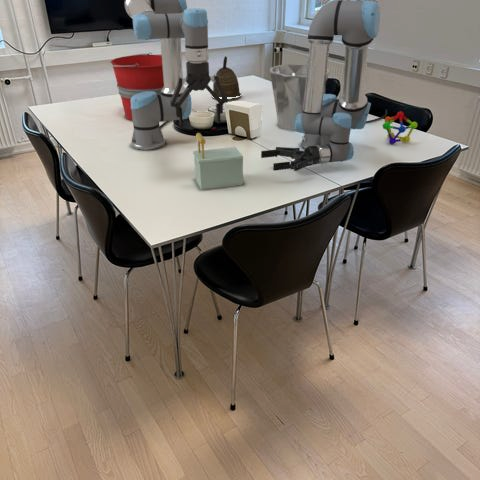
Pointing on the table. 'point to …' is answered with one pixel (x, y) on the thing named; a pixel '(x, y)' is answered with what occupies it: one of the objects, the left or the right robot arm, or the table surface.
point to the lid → (215, 153)
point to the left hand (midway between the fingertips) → (200, 124)
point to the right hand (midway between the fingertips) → (267, 160)
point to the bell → (227, 81)
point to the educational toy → (398, 128)
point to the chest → (219, 173)
